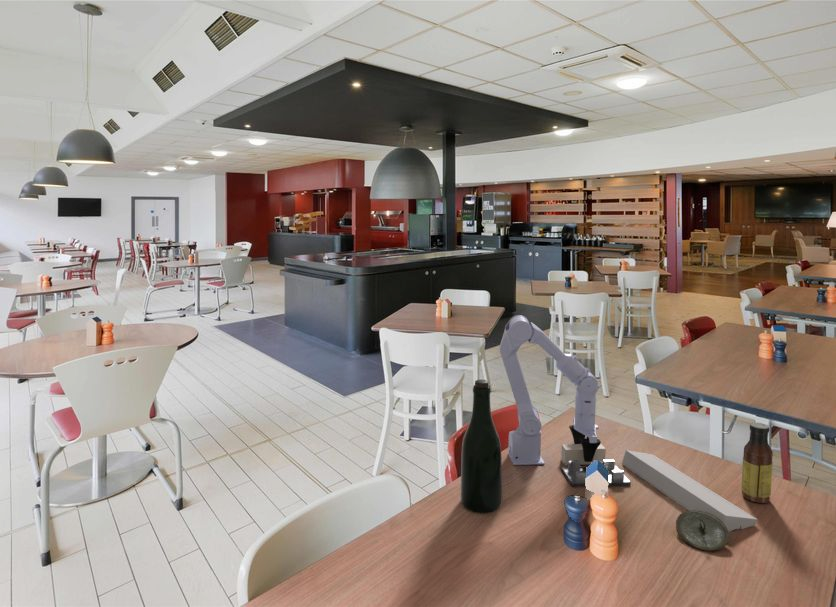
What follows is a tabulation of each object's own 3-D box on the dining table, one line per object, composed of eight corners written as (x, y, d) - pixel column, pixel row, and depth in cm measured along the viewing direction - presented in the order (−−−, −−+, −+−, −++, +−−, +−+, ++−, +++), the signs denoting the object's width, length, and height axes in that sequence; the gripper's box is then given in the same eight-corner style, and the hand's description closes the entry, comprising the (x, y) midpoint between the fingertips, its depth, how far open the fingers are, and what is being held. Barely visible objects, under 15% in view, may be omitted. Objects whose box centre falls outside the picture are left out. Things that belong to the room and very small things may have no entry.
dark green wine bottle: (508, 500, 126) (510, 378, 121) (490, 520, 118) (491, 390, 112) (472, 488, 132) (472, 372, 127) (453, 507, 123) (452, 383, 118)
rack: (572, 487, 132) (572, 475, 131) (561, 470, 141) (562, 459, 140) (630, 485, 132) (631, 473, 132) (616, 468, 141) (617, 457, 140)
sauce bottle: (768, 495, 126) (776, 423, 123) (771, 507, 121) (779, 432, 118) (738, 488, 130) (745, 418, 126) (739, 500, 124) (747, 427, 121)
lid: (730, 535, 111) (732, 515, 110) (726, 559, 103) (728, 538, 102) (678, 519, 117) (680, 500, 116) (671, 541, 109) (672, 520, 108)
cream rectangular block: (565, 465, 144) (565, 449, 143) (561, 459, 147) (561, 444, 146) (604, 464, 144) (605, 448, 143) (600, 458, 148) (600, 443, 147)
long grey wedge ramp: (647, 469, 147) (621, 465, 144) (652, 454, 146) (625, 450, 143) (751, 538, 114) (719, 535, 111) (757, 519, 114) (725, 515, 111)
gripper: (608, 421, 136) (606, 466, 138) (589, 402, 150) (587, 443, 153) (583, 422, 136) (582, 467, 138) (566, 403, 150) (565, 444, 152)
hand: (583, 455), depth 145 cm, fingers open, 7 cm apart
